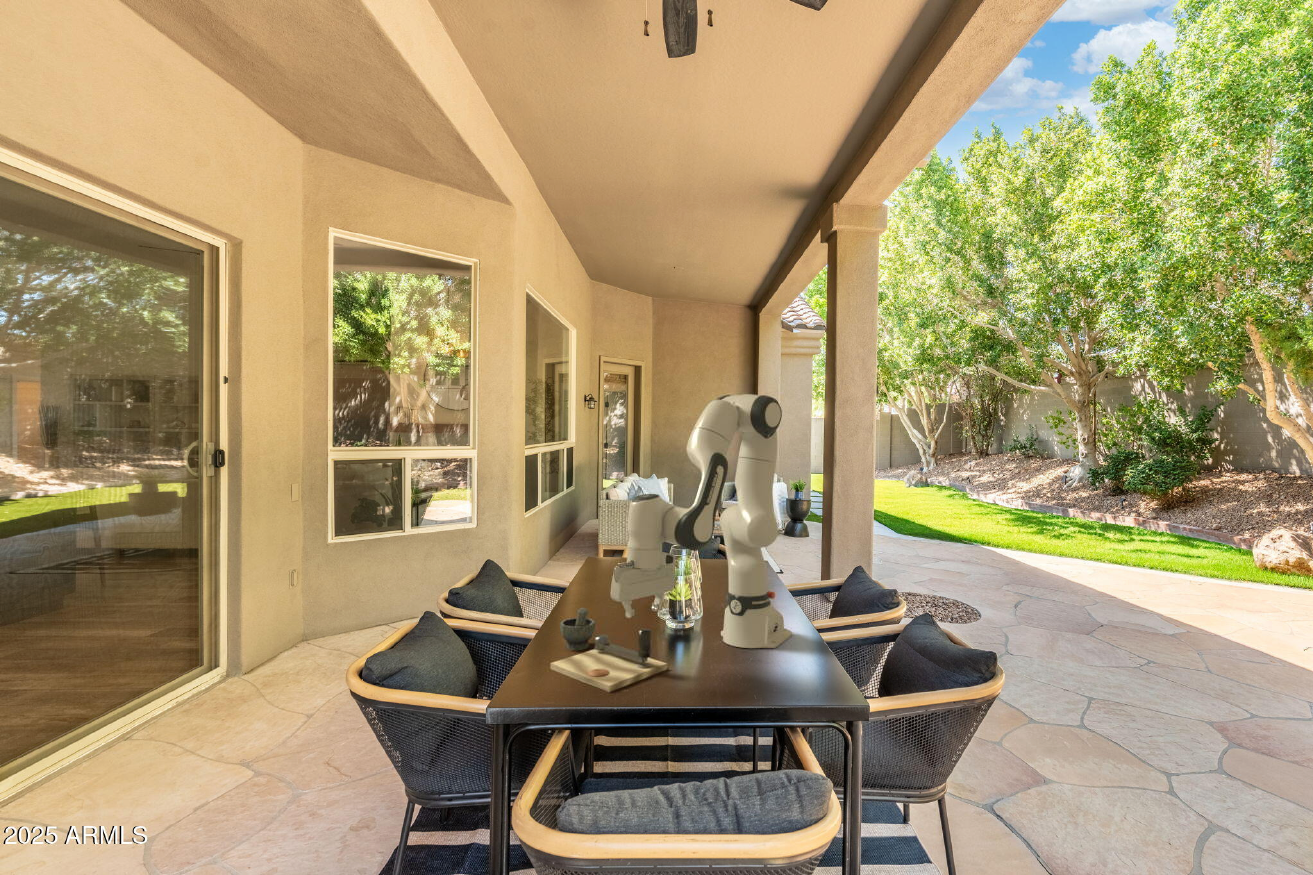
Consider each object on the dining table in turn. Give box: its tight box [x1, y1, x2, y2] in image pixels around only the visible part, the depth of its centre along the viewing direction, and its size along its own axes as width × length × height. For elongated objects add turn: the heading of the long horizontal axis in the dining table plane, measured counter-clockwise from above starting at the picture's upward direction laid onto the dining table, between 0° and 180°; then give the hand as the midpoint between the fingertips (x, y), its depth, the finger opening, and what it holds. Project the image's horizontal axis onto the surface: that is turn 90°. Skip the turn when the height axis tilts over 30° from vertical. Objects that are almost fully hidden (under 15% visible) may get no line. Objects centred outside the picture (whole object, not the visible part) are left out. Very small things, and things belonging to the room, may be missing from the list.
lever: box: [594, 627, 652, 663], centre depth 166 cm, size 4×20×8 cm, turn 47°
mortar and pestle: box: [559, 607, 596, 651], centre depth 179 cm, size 11×9×12 cm
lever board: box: [549, 648, 668, 693], centre depth 162 cm, size 20×22×2 cm
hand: (643, 613), depth 160 cm, fingers open, 8 cm apart
